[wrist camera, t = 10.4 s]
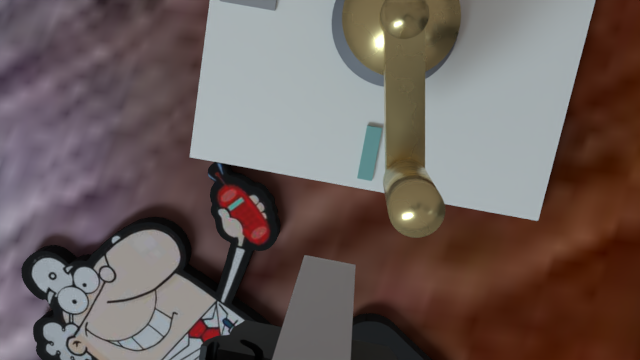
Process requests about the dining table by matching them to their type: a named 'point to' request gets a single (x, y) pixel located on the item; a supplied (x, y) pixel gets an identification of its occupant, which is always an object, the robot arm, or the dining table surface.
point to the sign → (166, 286)
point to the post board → (368, 98)
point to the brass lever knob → (404, 94)
